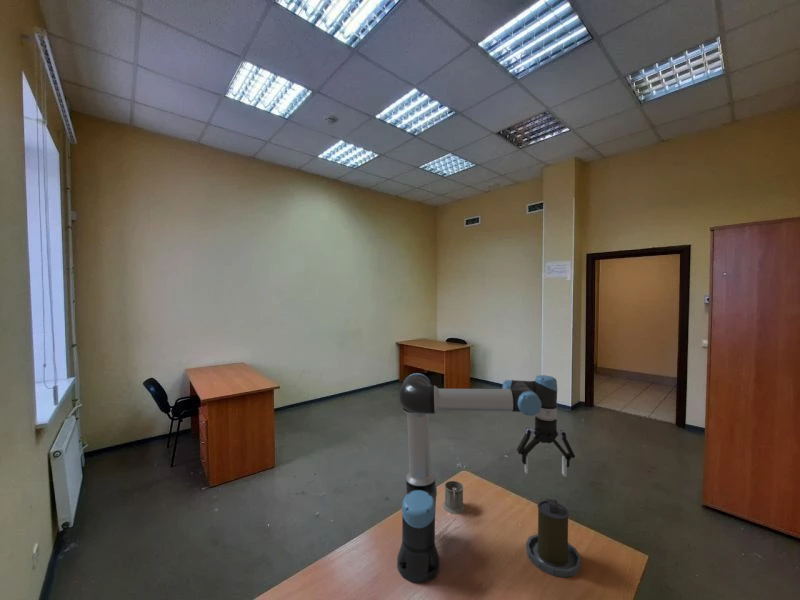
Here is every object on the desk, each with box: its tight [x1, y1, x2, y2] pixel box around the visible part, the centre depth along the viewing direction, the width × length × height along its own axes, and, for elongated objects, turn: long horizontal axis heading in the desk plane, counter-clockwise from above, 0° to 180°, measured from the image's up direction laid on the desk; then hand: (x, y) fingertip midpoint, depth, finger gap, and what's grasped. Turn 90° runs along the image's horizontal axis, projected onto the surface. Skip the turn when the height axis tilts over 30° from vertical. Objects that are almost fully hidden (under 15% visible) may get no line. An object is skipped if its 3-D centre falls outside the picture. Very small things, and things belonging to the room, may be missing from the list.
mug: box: [442, 480, 466, 515], centre depth 149 cm, size 14×10×12 cm
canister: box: [537, 498, 569, 567], centre depth 121 cm, size 11×10×20 cm
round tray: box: [525, 533, 582, 578], centre depth 122 cm, size 18×18×2 cm
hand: (545, 473), depth 124 cm, fingers open, 13 cm apart
